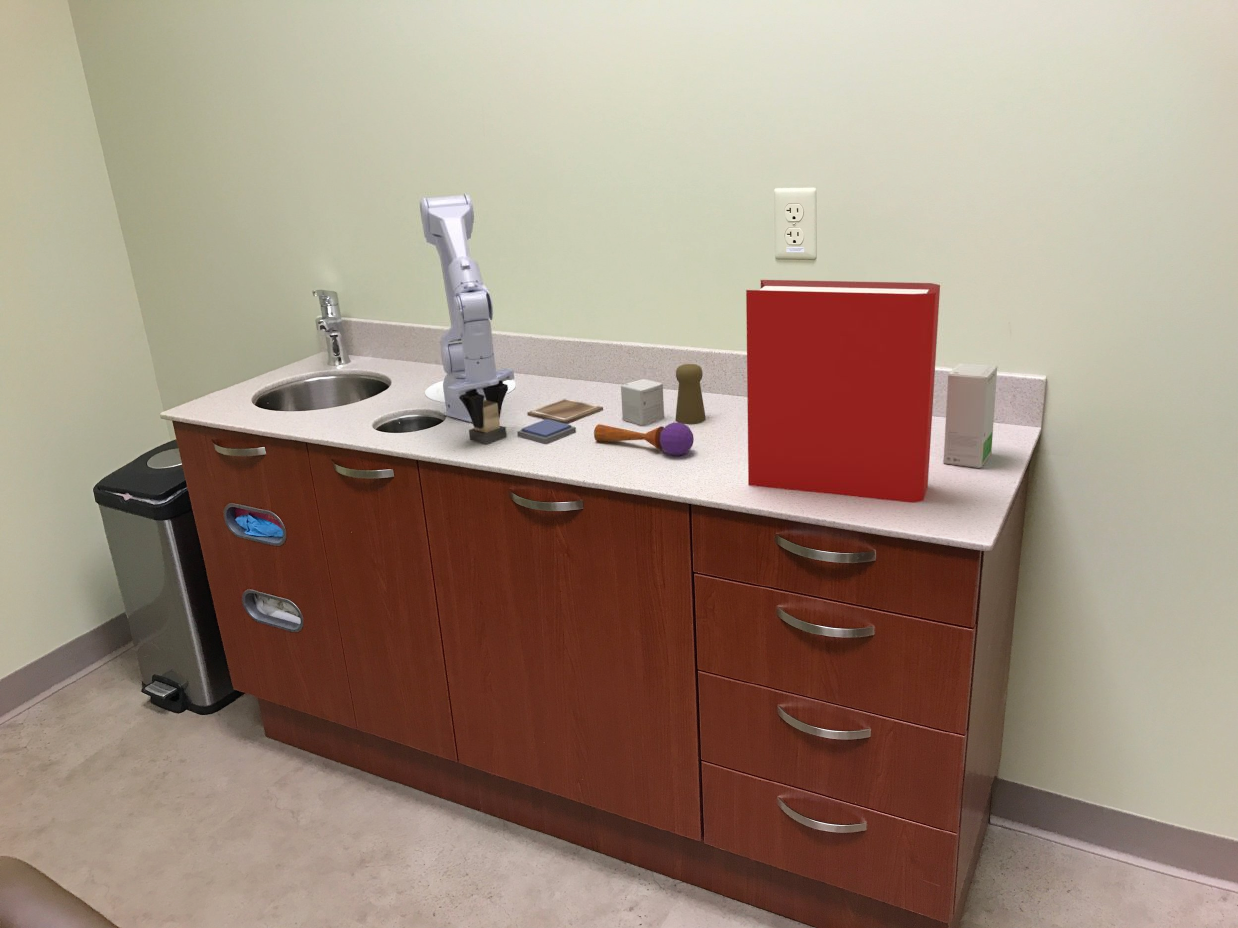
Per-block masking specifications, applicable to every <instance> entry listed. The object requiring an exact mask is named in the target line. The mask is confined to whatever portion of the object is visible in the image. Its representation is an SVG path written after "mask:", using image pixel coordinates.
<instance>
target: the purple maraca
mask: <svg viewBox="0 0 1238 928" xmlns="http://www.w3.org/2000/svg"><path fill="white" fill-rule="evenodd" d="M593 437H594V440H595V441H596V442H598V443H599V442H603V443H604V442H621V441H623V442H625V441H646V442H647V443H649V444H650V445H652V446H653V447H655V448H657V449H658V450H663V451H664V452H665V453H667V454H668V455H669V456H676V457H680V456H683V455H685V454H687V453H688V452H689V451H690V450H691V449H692V447H693V445H694V440H695V438H694V437H695V436H694V434H693V431H692V430H691V428H690V427H689V426H688V424H683V423H678V422H676V421H673V422H671V423H669V424H667V425H665V426H661V425H660V426H659V427H656V428H654V429H652V430H650V431H648V432H646V433H643V432H637V431H633V430H628V429H626V428H625V429H624V428H618V427H615V426H609V425H605V424H600V423H598V424H597V425H596V426H595V427H594V430H593Z"/></svg>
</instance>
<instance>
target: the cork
mask: <svg viewBox="0 0 1238 928" xmlns="http://www.w3.org/2000/svg"><path fill="white" fill-rule="evenodd" d="M675 378H676V380H677V382H678V390H677V399H676V411H675V422H676V423H683V424H685V425H695V424H696V425H697V424H701V423H703V422H705V421H706V420H707V417H706V411H705V405H704V397H703V392H702V388H701V387H702V386H701V380H702V379H703V369H702V367H701V366H700V365H699V364H695V363H694V364H693V363H686V364H681V365H679V366H677V368H676V370H675Z"/></svg>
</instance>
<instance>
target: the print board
mask: <svg viewBox="0 0 1238 928" xmlns="http://www.w3.org/2000/svg"><path fill="white" fill-rule="evenodd" d="M603 410H604V407H603V406H600V405H596V404H592V403H587V402H583V401H578V400H573V399H569V398H563V399H560V400H558V401H555V402H553V403H550V404H547V405H544V406H542V407H539V408H536V409H534V410H530V411H528V412H527V413H526V414H527V416H530V417H533V418H538V419H541V420H545V419H549V420H553V421H557V422H561V423H565V424H570V423H573V422H575V421H578V420H580V419H582V418H586V417H588V416H591V415H594V414H596V413H598V412H602V411H603Z"/></svg>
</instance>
